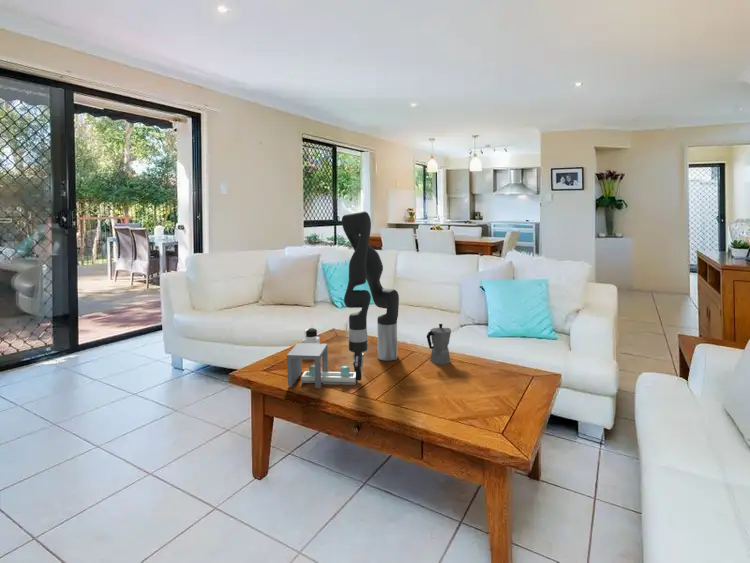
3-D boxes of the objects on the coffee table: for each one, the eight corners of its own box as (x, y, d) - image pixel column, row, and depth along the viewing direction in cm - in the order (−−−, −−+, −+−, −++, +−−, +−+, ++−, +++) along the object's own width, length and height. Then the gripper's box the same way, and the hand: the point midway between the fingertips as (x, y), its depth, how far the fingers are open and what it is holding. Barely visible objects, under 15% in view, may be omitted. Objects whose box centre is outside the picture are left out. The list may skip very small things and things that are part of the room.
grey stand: (328, 373, 193) (327, 343, 191) (320, 388, 177) (319, 355, 175) (298, 373, 194) (297, 343, 192) (288, 387, 179) (286, 355, 176)
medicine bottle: (320, 350, 225) (319, 327, 223) (316, 355, 218) (316, 331, 216) (306, 350, 226) (305, 327, 224) (302, 354, 219) (301, 330, 217)
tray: (356, 379, 187) (356, 365, 186) (355, 384, 181) (355, 370, 180) (305, 377, 189) (304, 363, 188) (301, 383, 183) (301, 368, 182)
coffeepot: (442, 356, 216) (442, 319, 213) (457, 361, 208) (458, 323, 206) (419, 363, 206) (419, 325, 203) (434, 368, 199) (435, 329, 196)
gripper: (365, 343, 174) (366, 386, 177) (368, 334, 187) (369, 374, 190) (346, 343, 175) (347, 385, 177) (351, 334, 188) (351, 373, 190)
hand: (358, 379), depth 184 cm, fingers closed
